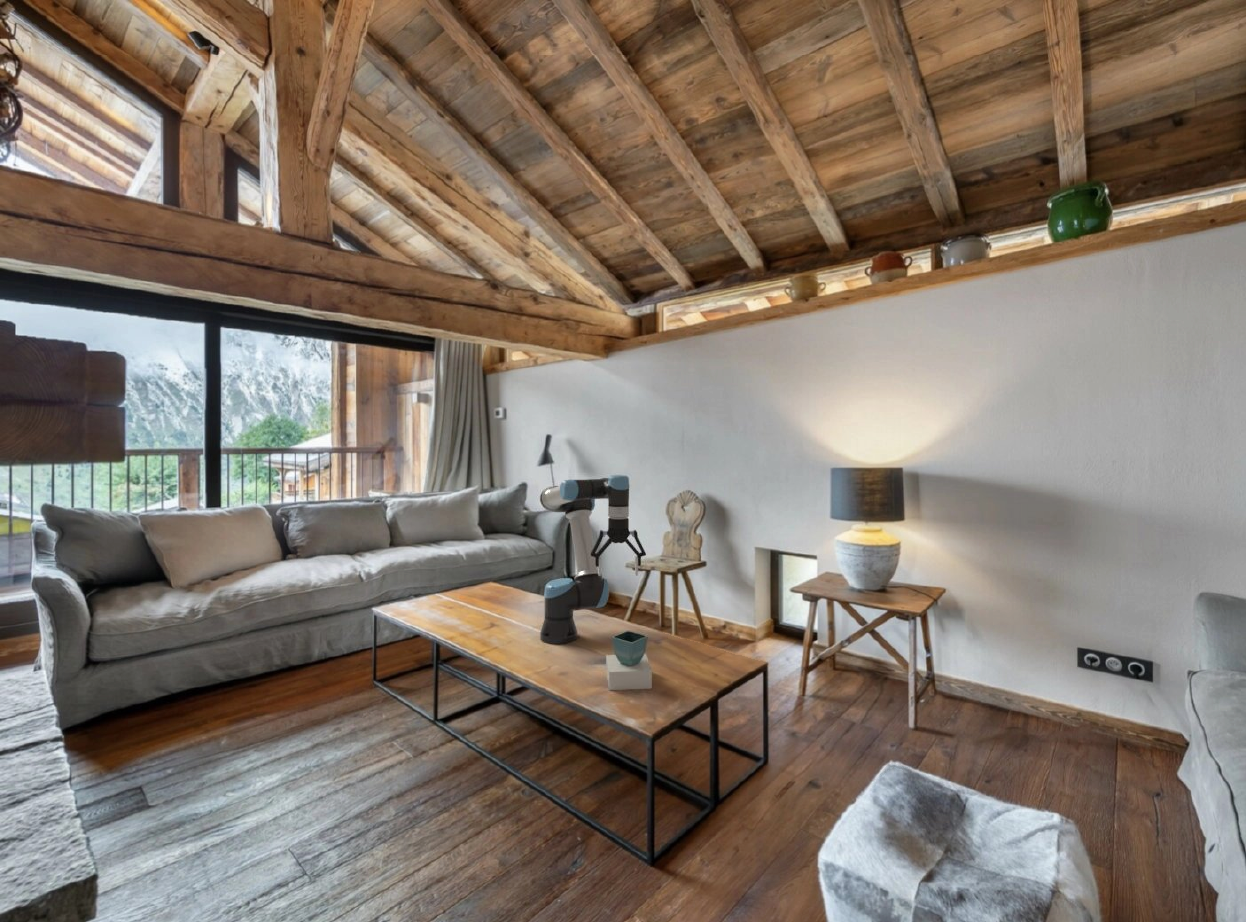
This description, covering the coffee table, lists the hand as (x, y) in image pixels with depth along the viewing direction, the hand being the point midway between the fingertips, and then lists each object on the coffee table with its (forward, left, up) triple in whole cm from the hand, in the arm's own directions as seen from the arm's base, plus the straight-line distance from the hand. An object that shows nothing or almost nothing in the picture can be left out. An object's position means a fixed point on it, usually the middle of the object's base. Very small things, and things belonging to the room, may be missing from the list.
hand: (618, 575), depth 204 cm
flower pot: (+18, +3, -26) cm, 31 cm away
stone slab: (+18, +2, -32) cm, 36 cm away
